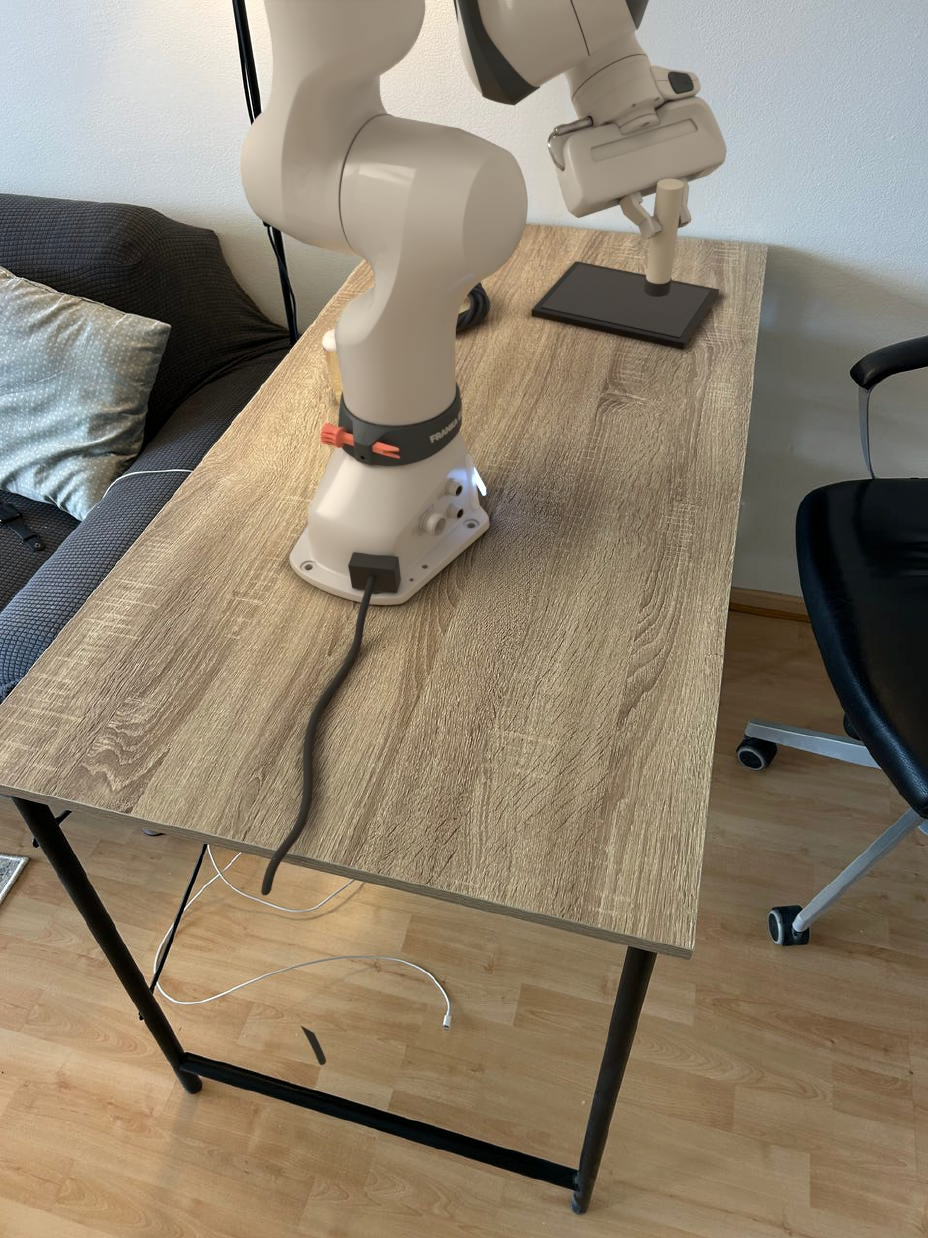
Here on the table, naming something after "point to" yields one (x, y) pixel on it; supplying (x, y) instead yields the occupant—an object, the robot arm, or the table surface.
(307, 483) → the table surface
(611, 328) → the tablet
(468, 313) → the cable
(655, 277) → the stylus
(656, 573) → the table surface
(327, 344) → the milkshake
